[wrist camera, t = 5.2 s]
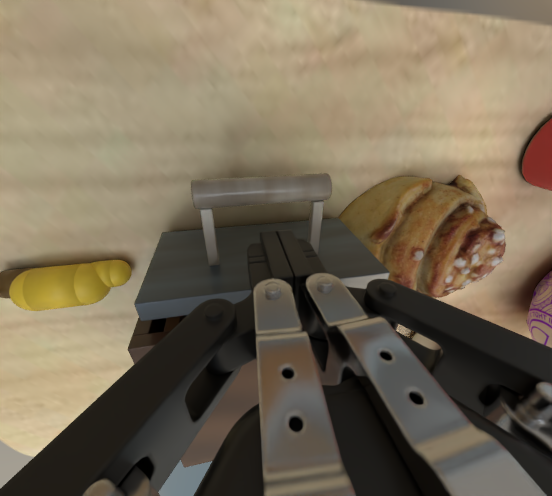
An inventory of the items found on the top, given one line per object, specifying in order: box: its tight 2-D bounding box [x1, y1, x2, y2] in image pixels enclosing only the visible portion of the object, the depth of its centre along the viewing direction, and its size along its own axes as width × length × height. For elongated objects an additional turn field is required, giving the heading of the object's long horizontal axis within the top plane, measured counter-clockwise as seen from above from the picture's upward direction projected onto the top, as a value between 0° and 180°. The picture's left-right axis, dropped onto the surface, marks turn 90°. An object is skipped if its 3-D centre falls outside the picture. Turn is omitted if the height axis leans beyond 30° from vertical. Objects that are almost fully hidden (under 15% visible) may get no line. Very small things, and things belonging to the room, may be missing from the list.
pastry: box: [339, 175, 506, 299], centre depth 21 cm, size 13×15×8 cm
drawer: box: [134, 173, 390, 332], centre depth 18 cm, size 18×13×7 cm
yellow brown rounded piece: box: [0, 260, 132, 311], centre depth 18 cm, size 9×3×3 cm
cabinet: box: [128, 317, 302, 467], centre depth 21 cm, size 15×15×9 cm
